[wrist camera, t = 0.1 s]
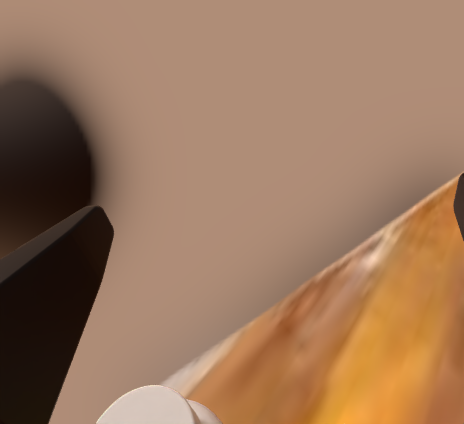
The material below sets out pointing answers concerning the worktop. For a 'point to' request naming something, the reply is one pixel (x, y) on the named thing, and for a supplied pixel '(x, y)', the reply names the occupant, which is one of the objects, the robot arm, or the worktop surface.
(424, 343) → the worktop surface
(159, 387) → the supplement bottle
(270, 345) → the worktop surface
